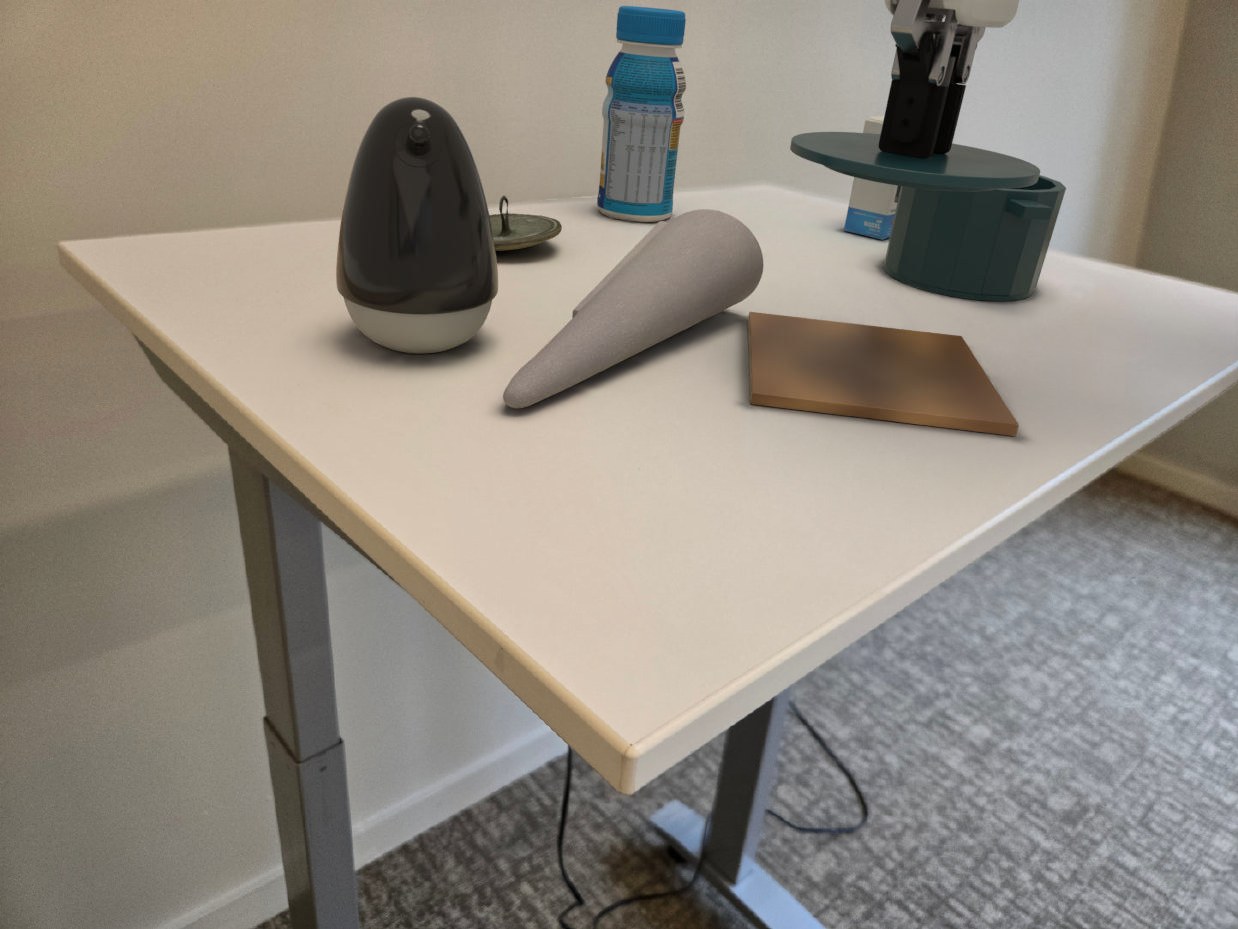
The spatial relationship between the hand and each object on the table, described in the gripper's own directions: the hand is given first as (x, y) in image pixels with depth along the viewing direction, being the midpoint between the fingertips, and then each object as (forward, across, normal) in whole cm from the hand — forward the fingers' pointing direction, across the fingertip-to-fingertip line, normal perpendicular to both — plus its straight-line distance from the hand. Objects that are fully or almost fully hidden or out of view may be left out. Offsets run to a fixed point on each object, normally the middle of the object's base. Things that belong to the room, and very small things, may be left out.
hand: (914, 149), depth 56 cm
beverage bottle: (+15, +25, +37) cm, 47 cm away
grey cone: (+15, -9, +12) cm, 21 cm away
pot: (+15, +30, +4) cm, 34 cm away
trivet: (+15, 0, 0) cm, 15 cm away
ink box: (+15, +42, +16) cm, 48 cm away
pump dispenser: (+15, -18, +24) cm, 34 cm away
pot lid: (+1, 0, 0) cm, 1 cm away
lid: (+15, +3, +36) cm, 39 cm away
